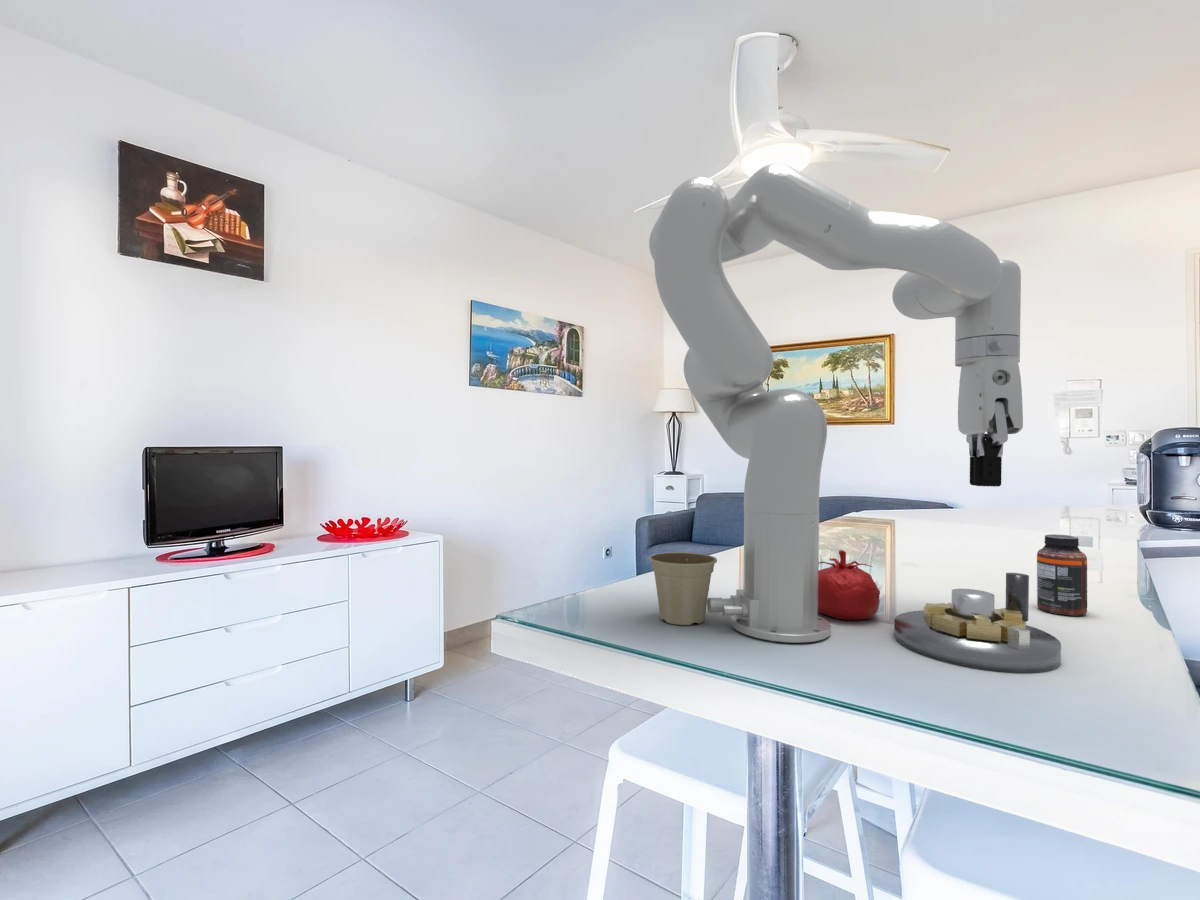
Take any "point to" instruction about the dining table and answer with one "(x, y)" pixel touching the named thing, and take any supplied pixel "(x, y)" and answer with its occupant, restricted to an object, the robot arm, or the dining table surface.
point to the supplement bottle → (1062, 576)
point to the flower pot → (682, 585)
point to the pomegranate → (847, 591)
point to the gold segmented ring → (982, 625)
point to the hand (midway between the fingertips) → (985, 485)
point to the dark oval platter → (1015, 655)
